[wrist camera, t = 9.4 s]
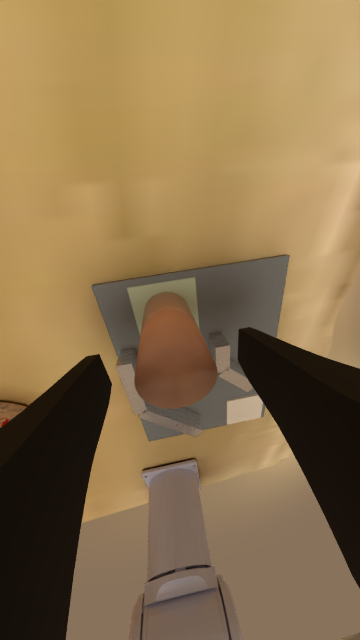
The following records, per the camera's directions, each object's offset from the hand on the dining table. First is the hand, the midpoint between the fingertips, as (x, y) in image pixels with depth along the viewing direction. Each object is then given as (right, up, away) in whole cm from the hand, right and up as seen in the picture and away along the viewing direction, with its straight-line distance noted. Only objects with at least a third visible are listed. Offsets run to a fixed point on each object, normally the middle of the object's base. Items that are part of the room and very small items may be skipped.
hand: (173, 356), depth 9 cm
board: (+3, -3, +9) cm, 9 cm away
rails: (+2, -5, +9) cm, 10 cm away
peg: (-1, +2, +5) cm, 5 cm away
